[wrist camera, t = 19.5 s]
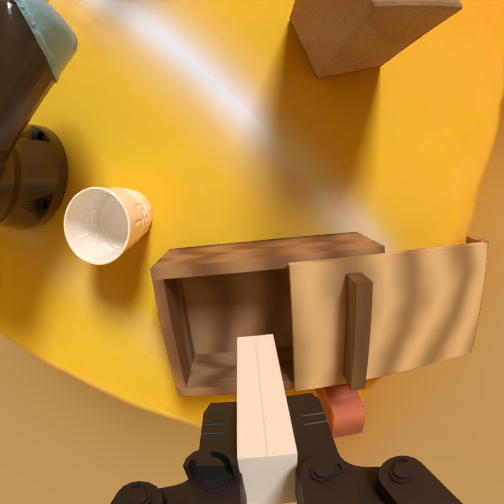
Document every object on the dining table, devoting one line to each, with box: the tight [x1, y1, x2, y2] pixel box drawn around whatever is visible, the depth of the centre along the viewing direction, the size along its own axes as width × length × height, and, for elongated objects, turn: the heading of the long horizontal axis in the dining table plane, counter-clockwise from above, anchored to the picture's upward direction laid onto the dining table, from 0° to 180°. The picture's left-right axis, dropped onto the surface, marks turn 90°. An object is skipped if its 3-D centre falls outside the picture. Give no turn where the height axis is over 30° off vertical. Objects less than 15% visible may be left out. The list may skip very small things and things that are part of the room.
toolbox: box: [150, 232, 385, 396], centre depth 37 cm, size 24×16×9 cm, turn 95°
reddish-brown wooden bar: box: [316, 383, 366, 438], centre depth 38 cm, size 4×4×12 cm
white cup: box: [64, 187, 152, 265], centre depth 34 cm, size 8×8×10 cm
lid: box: [288, 236, 488, 391], centre depth 32 cm, size 26×15×8 cm, turn 95°
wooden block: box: [290, 0, 463, 79], centre depth 24 cm, size 10×10×20 cm
